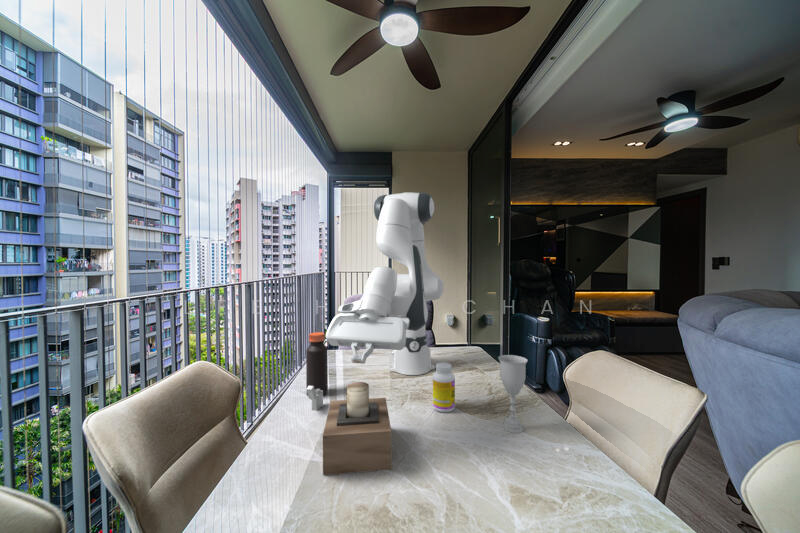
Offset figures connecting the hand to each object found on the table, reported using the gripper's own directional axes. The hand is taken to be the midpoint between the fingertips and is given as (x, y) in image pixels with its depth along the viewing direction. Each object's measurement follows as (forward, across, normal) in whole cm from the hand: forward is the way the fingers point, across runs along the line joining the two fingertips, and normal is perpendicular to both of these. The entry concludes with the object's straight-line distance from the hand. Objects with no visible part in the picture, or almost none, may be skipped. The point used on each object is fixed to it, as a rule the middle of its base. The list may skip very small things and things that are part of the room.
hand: (357, 362), depth 70 cm
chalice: (+1, -35, -28) cm, 45 cm away
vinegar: (-4, +25, -31) cm, 40 cm away
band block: (+14, 0, -14) cm, 20 cm away
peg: (+10, 0, -10) cm, 14 cm away
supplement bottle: (-4, -17, -32) cm, 36 cm away
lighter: (+4, +20, -25) cm, 32 cm away
